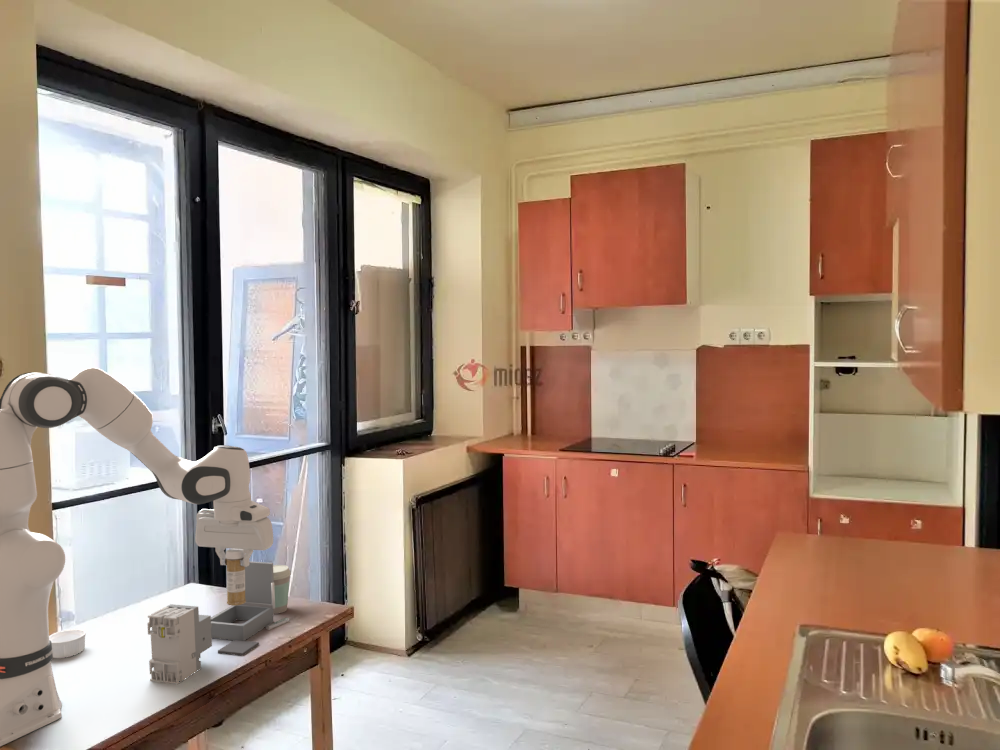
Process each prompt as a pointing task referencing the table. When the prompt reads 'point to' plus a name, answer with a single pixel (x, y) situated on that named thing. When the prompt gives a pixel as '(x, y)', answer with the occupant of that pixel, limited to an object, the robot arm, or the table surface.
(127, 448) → the robot arm
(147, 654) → the table surface
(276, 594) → the coffee cup
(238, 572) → the sprinkles bottle
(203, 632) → the circuit breaker
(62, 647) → the ramekin
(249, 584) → the case
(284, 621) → the rod
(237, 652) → the pad
